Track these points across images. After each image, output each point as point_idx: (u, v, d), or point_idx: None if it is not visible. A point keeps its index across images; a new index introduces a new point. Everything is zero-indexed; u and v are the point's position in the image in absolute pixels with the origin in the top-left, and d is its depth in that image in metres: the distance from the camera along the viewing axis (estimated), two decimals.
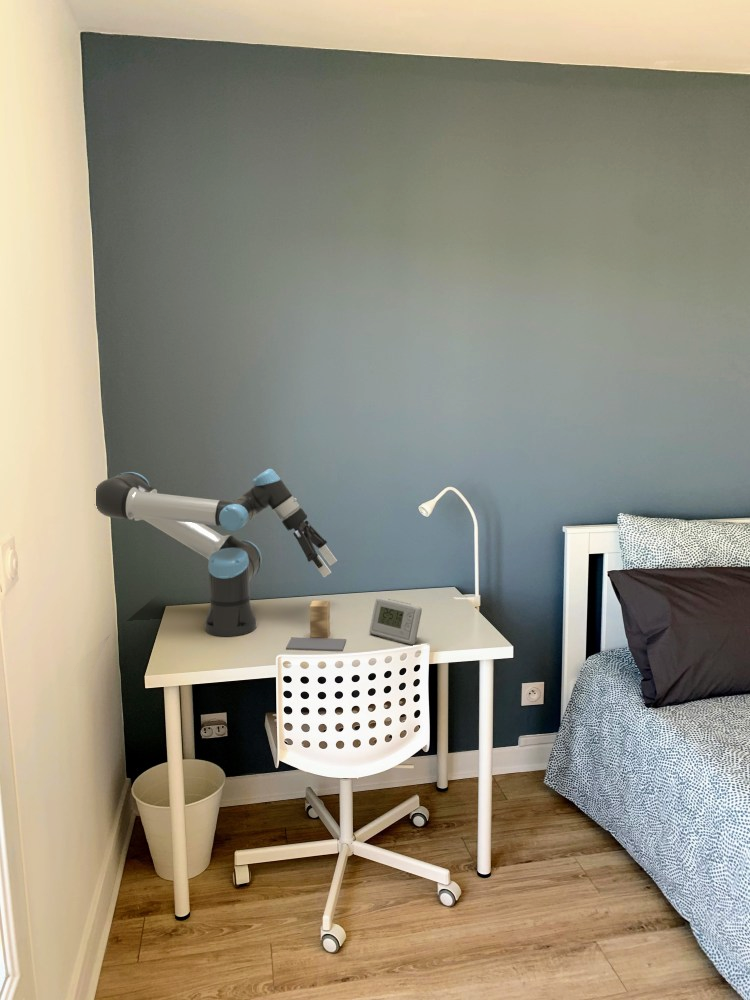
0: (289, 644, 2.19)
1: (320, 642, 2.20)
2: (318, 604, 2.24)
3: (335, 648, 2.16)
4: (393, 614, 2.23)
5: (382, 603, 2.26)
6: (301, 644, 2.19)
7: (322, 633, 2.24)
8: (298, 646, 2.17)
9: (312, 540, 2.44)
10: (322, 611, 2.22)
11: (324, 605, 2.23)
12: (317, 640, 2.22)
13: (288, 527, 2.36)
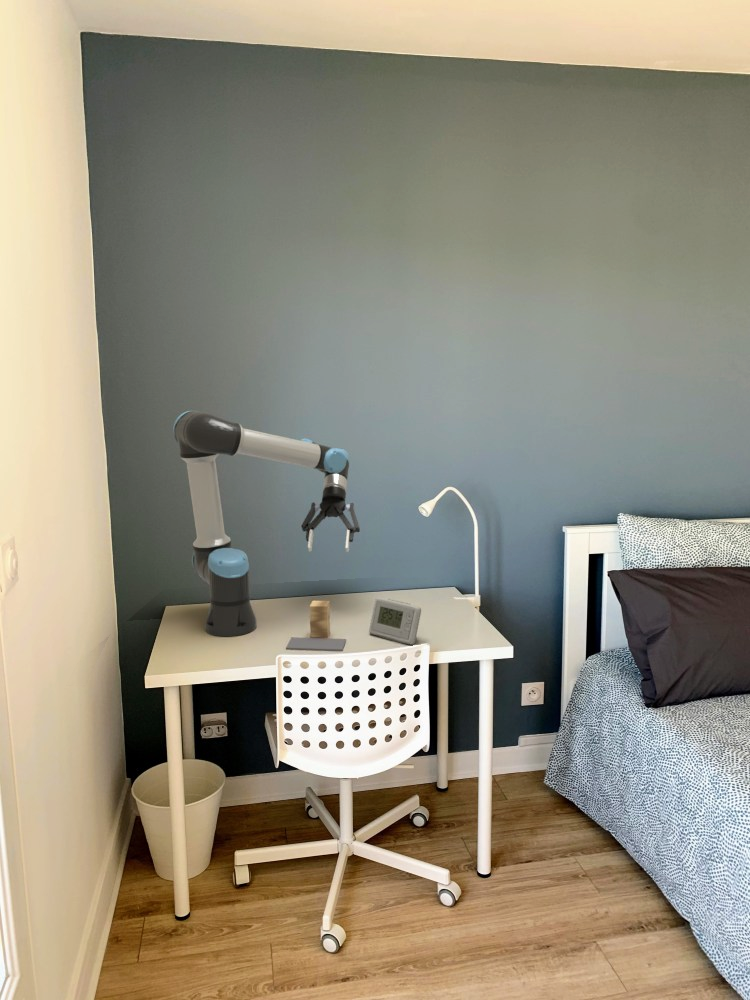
0: (289, 644, 2.19)
1: (320, 642, 2.20)
2: (318, 604, 2.24)
3: (335, 648, 2.16)
4: (393, 614, 2.23)
5: (382, 603, 2.26)
6: (301, 644, 2.19)
7: (322, 633, 2.24)
8: (298, 646, 2.17)
9: (319, 519, 2.45)
10: (322, 611, 2.22)
11: (324, 605, 2.23)
12: (317, 640, 2.22)
13: (341, 494, 2.48)
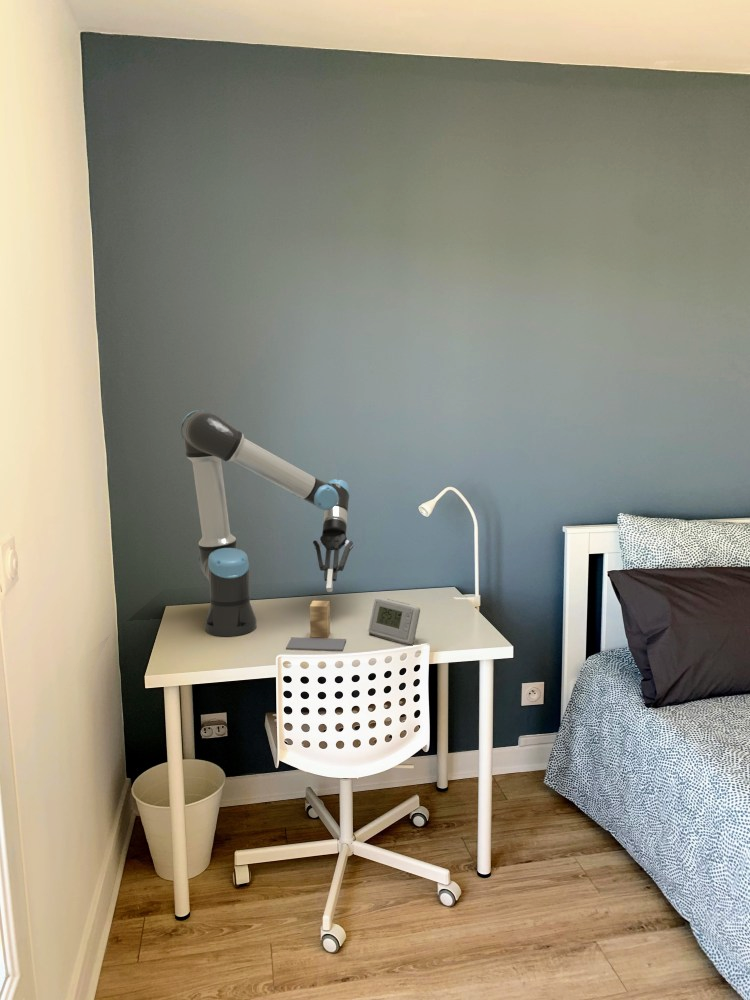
0: (289, 644, 2.19)
1: (320, 642, 2.20)
2: (318, 604, 2.24)
3: (335, 648, 2.16)
4: (392, 614, 2.23)
5: (381, 603, 2.26)
6: (301, 644, 2.19)
7: (322, 633, 2.24)
8: (298, 646, 2.17)
9: (329, 555, 2.41)
10: (322, 611, 2.22)
11: (324, 605, 2.23)
12: (317, 640, 2.22)
13: (342, 527, 2.44)
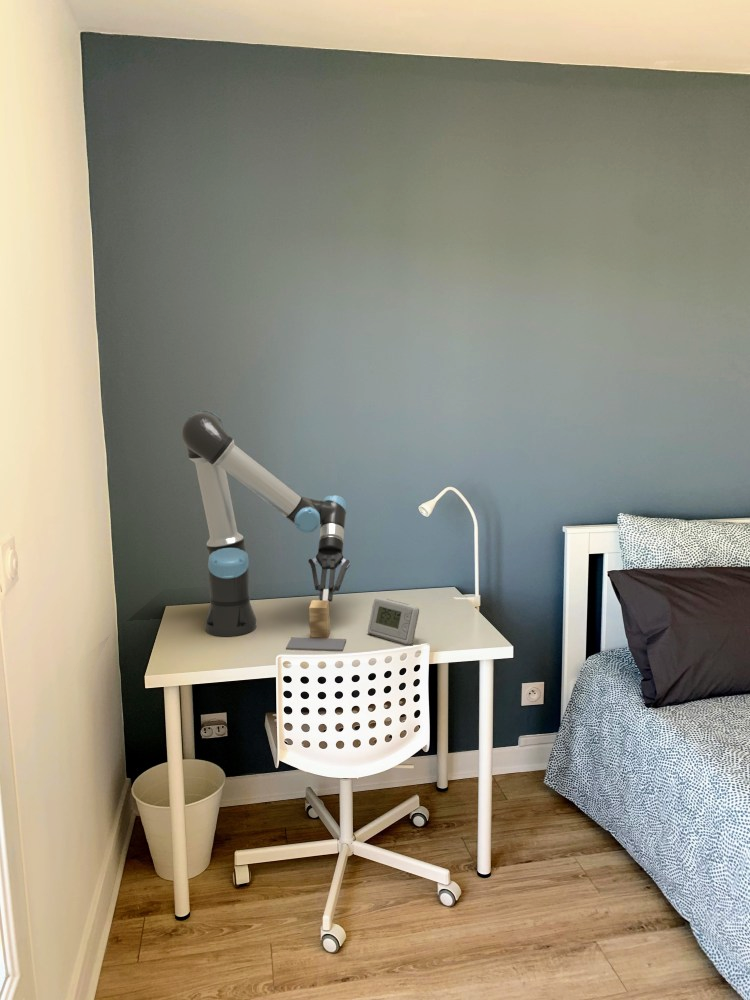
0: (289, 644, 2.19)
1: (320, 642, 2.20)
2: (317, 605, 2.22)
3: (335, 648, 2.16)
4: (391, 614, 2.23)
5: (380, 603, 2.26)
6: (301, 644, 2.19)
7: (322, 633, 2.23)
8: (298, 646, 2.17)
9: (325, 574, 2.34)
10: (321, 612, 2.21)
11: (323, 606, 2.22)
12: (317, 640, 2.22)
13: (339, 546, 2.37)
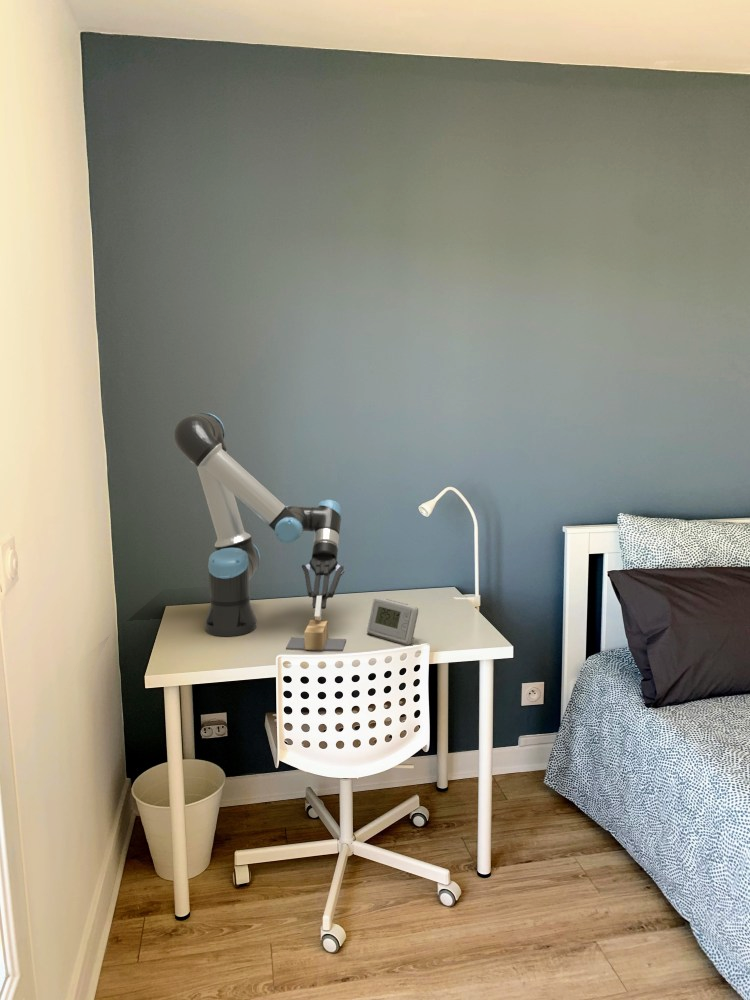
0: (289, 644, 2.19)
1: None
2: (312, 644, 2.15)
3: (335, 648, 2.16)
4: (391, 614, 2.23)
5: (380, 603, 2.26)
6: (301, 644, 2.19)
7: None
8: (298, 646, 2.17)
9: (319, 581, 2.27)
10: None
11: (319, 646, 2.15)
12: None
13: (333, 551, 2.30)
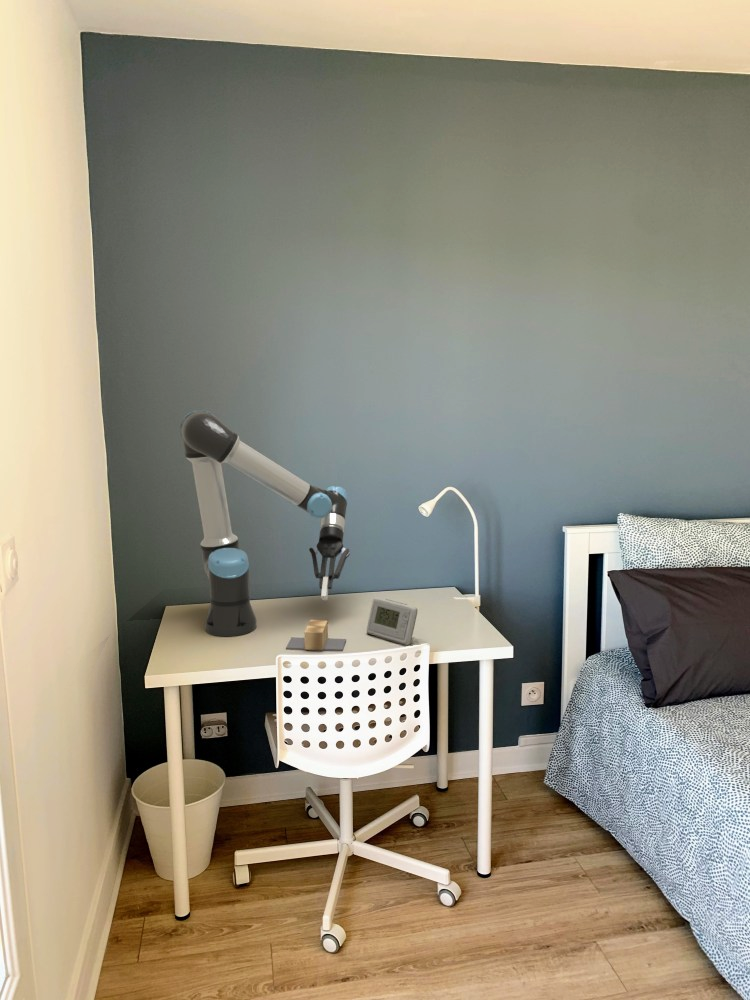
0: (289, 644, 2.19)
1: None
2: (312, 644, 2.15)
3: (335, 648, 2.16)
4: (390, 614, 2.23)
5: (379, 603, 2.26)
6: (301, 644, 2.19)
7: None
8: (298, 646, 2.17)
9: (325, 563, 2.38)
10: None
11: (319, 646, 2.15)
12: None
13: (339, 535, 2.42)
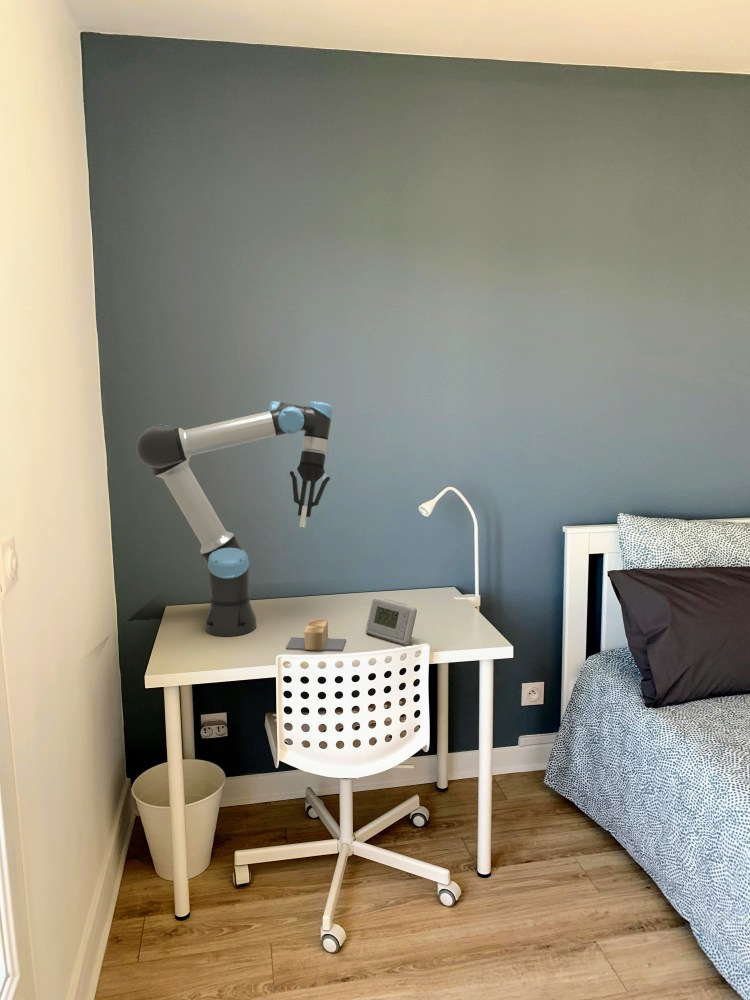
0: (289, 644, 2.19)
1: None
2: (312, 644, 2.15)
3: (335, 648, 2.16)
4: (389, 614, 2.23)
5: (378, 603, 2.26)
6: (301, 644, 2.19)
7: None
8: (298, 646, 2.17)
9: (305, 489, 2.39)
10: None
11: (319, 646, 2.15)
12: None
13: (320, 461, 2.37)
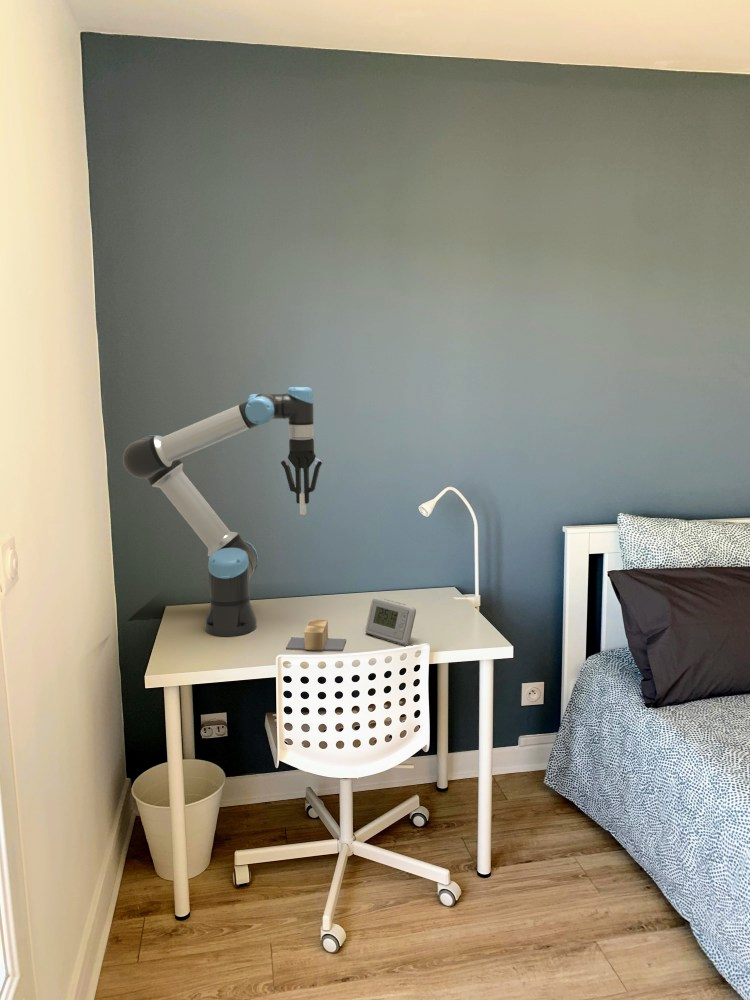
0: (289, 644, 2.19)
1: None
2: (312, 644, 2.15)
3: (335, 648, 2.16)
4: (388, 614, 2.23)
5: (378, 603, 2.26)
6: (301, 644, 2.19)
7: None
8: (298, 646, 2.17)
9: (299, 477, 2.37)
10: None
11: (319, 646, 2.15)
12: None
13: (309, 448, 2.33)
